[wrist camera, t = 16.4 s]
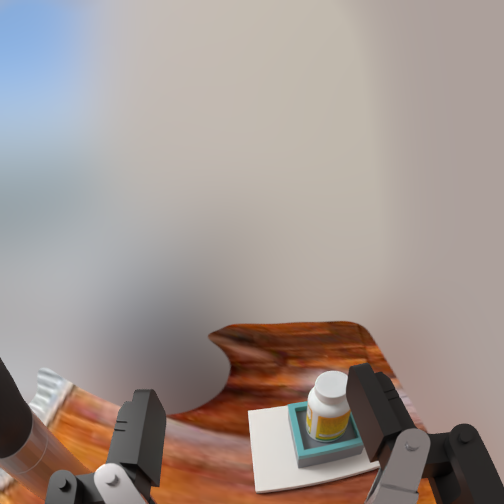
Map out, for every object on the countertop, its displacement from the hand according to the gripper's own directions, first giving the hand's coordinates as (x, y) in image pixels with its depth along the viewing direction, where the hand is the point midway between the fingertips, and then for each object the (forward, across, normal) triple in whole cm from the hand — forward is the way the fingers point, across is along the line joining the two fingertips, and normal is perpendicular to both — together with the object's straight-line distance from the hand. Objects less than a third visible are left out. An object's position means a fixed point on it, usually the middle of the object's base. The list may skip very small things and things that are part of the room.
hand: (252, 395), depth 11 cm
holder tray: (+13, -8, +30) cm, 34 cm away
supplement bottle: (+13, -8, +26) cm, 30 cm away
